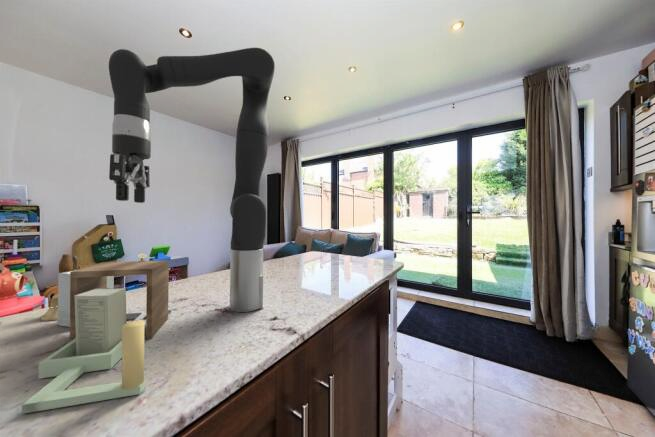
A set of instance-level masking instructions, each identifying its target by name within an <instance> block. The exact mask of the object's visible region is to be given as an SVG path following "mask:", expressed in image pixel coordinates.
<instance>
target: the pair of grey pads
mask: <svg viewBox="0 0 655 437" xmlns="http://www.w3.org/2000/svg"><path fill="white" fill-rule="evenodd" d="M171 312H172V309H168V315H170V313H171ZM141 315H142V312H134V313H133V312H132V313H126V318H127V321H128V322H129V321H136V319H137V318H138V317H139V316H141ZM143 320H146V315H144V317H143Z"/></svg>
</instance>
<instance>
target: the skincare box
mask: <svg viewBox="0 0 655 437" xmlns="http://www.w3.org/2000/svg"><path fill="white" fill-rule="evenodd" d="M126 293H127V290H126V288H123V287H122V288H116V287H115V288H112V289H110V288H109V289H93V290H90V291H87V292H84V293H81V294H78V295H75V328H76V354H75V356H83V355H91V354H99V353H107V352H109V351H110V350H112V349H113V348H114V347H115V346H116V345H117V344H118V343H119V342H120V341H121V340H122V326H123V325H124V324H126V323H128V322H127V318H126V314H127V294H126Z"/></svg>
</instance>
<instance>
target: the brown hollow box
mask: <svg viewBox="0 0 655 437" xmlns="http://www.w3.org/2000/svg"><path fill="white" fill-rule="evenodd" d="M169 269H170V262H169V260H165V259H163V260H137V261H136V260H135V261H133V260H132V261H106V262H99V263H96V264H92V265H89V266H85V267H81V268H79V269H76V270H72V272H70V327H69V342H71V341H72V340H74V339H75V338H76V328H75V295H78V294H81V293H84V292H87V291H90V290H93V289H107V276H114V277H117V276H123V277H125V276H139V275H140V276H141V275H145V276H146V309H145V310H146V311H145V313H146V315H145V316H146V319H145V320H146V322H145V326H146V328H145V329H146V330H145V333H146V334H145V339H147V340H148V339H153V337H154V336H155V335H156V334H157V333H158V332H159V331H160V329H161V328H162V327H163V326H164V325H165V324H166V322H167V321H168V320H169V314H168V310H169V286H170V285H169V284H170V283H169V280H170V279H169V277H170V276H169V274H170V273H169V271H170V270H169Z"/></svg>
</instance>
